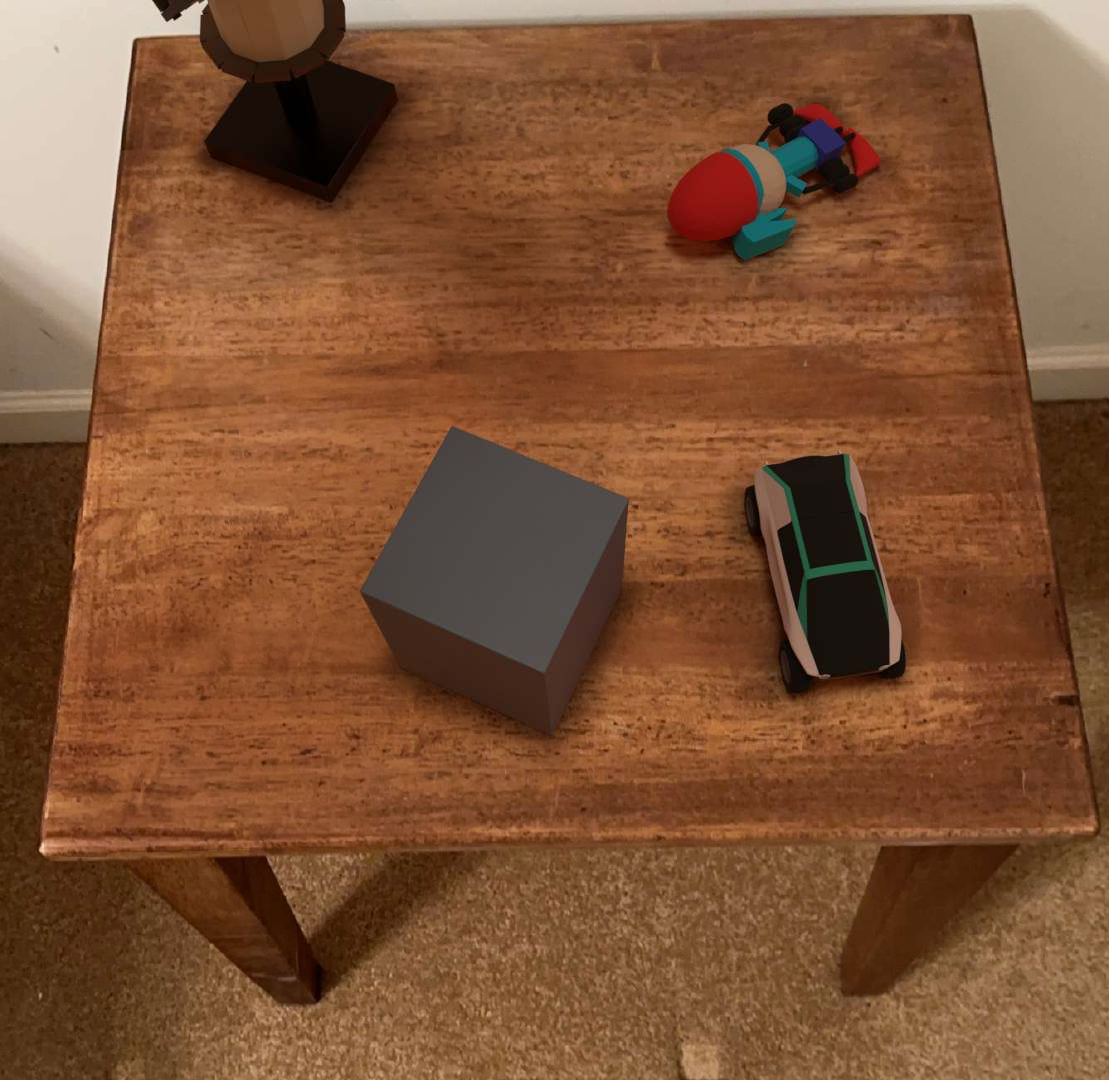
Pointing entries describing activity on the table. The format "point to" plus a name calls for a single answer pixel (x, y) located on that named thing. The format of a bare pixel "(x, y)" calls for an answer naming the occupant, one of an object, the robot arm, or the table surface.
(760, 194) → the toy figure
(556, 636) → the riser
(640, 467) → the table surface
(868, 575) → the toy car
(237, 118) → the hat stand
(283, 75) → the hat
